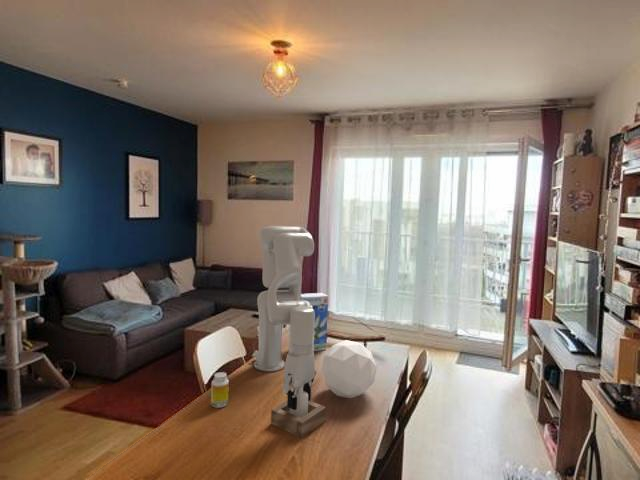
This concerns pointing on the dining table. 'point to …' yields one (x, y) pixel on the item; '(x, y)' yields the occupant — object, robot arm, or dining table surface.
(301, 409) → the eye dropper bottle
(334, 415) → the dining table surface
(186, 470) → the dining table surface
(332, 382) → the geometric orb
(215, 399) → the supplement bottle
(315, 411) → the socket block
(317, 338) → the string lights box
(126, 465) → the dining table surface
